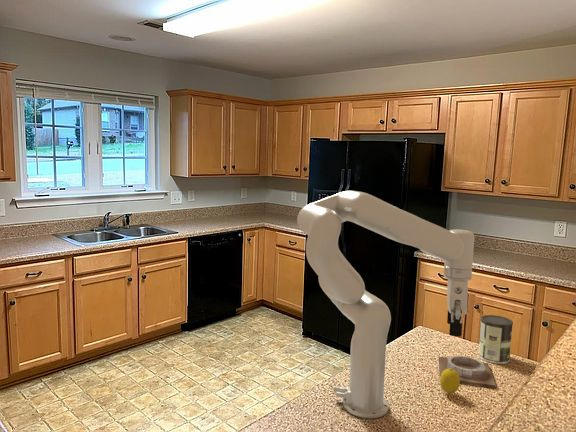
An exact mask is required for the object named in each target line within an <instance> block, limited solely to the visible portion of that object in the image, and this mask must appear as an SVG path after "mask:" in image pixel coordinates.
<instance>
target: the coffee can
mask: <svg viewBox="0 0 576 432" xmlns="http://www.w3.org/2000/svg"><path fill="white" fill-rule="evenodd" d="M513 325H514V321H513V320H511V319H510V318H507V317H505V316H500V315H494V314H486V315H482V316H481V317H480V331H479V332H480V333H479V345H478V357H479V358H480V359H481V360H483V361H484V362H487V363H490V364H496V365H505V364H506V365H507V364H509V362H510V361H511V346H512V345H511V344H512V333H513Z"/></svg>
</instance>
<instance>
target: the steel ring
mask: <svg viewBox="0 0 576 432" xmlns="http://www.w3.org/2000/svg"><path fill="white" fill-rule="evenodd" d="M447 358H448V364H447V367H448V369H449V368H452V369H453V370H455V371H456V372H457V373H458V375H459V376H461V377H466V378H480V377H482V376H483V375H484V369H485V367H484V364H483V363H484V362H482V361H481V360H480V359H477V358H474V357H472V356H466V355H460V354H459V355H451V356H450V357H447ZM454 364H466V365H470V366H473V367H475V368H477V369H465V368H461V367H458V366H456V365H454Z"/></svg>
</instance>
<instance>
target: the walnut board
mask: <svg viewBox="0 0 576 432" xmlns="http://www.w3.org/2000/svg"><path fill="white" fill-rule="evenodd" d="M448 358H449V357H443V356H438V358H437V359H438V366H439V368H438V369H439V376H440V377H441V374H442V372H443V371H444V370H446V369H448V367H447V364H448ZM482 363H483V364H484V367H485V369H484V375H483V376H482V377H480V378H466V377H461V376H459V378H460V384H461V385H462V384H463V385H469V386H476V387H483V388H489V389H495V390H496V387H497V386H496V382H495V379H494V377H493V373H492V370H491V368H490V365H489V362H487V363H486V362H482ZM454 365H456V366H458V367H461V368H465V369H477V368H475V367H473V366H470V365H466V364H454Z"/></svg>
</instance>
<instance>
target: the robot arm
mask: <svg viewBox="0 0 576 432" xmlns="http://www.w3.org/2000/svg"><path fill="white" fill-rule="evenodd" d="M296 219H297V220H296V221H297V227H298V228H299V229H300V231H301V232H302V233H303V234H305V235H307V238H306V242H305V243H306V245H305V253H306V259H307V262H308V264H309V265H310V267H311V268H312V269H313V271H314V272H315V274H316V275H317V276H318V283H319V286H320V288H321V289H322V291H323V292H324V294H325V295H326V296H327V297H328V298H329V299H330V301H331V302H332V303H333V304H334V305H335V306H336V308H337V309H338V310H339V311H340V312H341V313H342V315H343V316H345V317H346V318H347V319H348V320H350V321H351V322H352V323H353V324H354V331H353V334H352V338H351V341H350V359H349V361H350V363H349V380H348V381H349V384H348V386H347V385H346V386H344V387H343V386H340V385H333V393H335V395H336V397H337V398H342V406H343V407H344V408H343V409H345V410H346V411H347V412H348V413H349V414H351V415H353V416H356V417H358V418H361V419H362V418H363V419H377V418H381V417H384V416H385V415H386V414H387V413H388V412H389V402H388V400H386V399H385V396H384V395H385V393H384V392H385V376H386V375H385V373H386V372H385V370H386V354H387V353H386V349H387V340H388V333H389V330H390V326H391V321H392V315H391V311H390V309H389V306H388V305H387V304H386V303H385V302H384V301H383V300H382V299H380V298H379V297H377V296H376V295H375V294H372V293H370V292H369V291H367V290H366V285H365V281H364V279H363V278H362V277H361V275H360V273H359V272H357V270H356V269H355V268H354V267H353V266H352V264H351V263H350V262H349V261H348V260H347V258H346V257H345V256H344V254H343V253H342V252H341V250H340V248H339V237H340V235H341V231H342V223H344V222H351V223H352V224H353V223H354V224H356V225H358V226H360V227H362V228H364V229H367V230H370V231H372V232H374V233H376V234H379V235H381V236H383V237H385V238H387V239H389V240H392V241H394V242H397V243H400V244H404V245H407V246H411V247H414V248H416V249H419V250H420V252H422V253H424V254H425V255H428V256H431V257H435V258H437V259H440V260H443V261H444V264H443V265H444V266H443V277H444V278H445V279H447V286H446V304H447V321H446V322H447V324H448V325H449V331H448V332H449V336H451V337H459V338H461V337H462V334H463V333H462V332H463V315H464V316H466V315H468V299H469V298H468V297H469V296H468V294H469V290H468V289H469V282H468V281H471V280H472V279H473V278H472V276H473V275H472V274H473V262H474V249H475V233H474V232H472V231H471V230H466V229H461V228H460V229H459V228H458V229H457V228H456V229H449V230H448V229H446V228H444V227H442V226H440V225H437V224H435V223H433V222H430V221H428V220H425V219H423V218H421V217H419V216H417V215H415V214H413V213H411V212H408V211H406V210H403V209H400V208H399V207H397V206H394V205H393V204H390V203H388V202H387V201H384V200H382V199H380V198H378V197H377V196H374V195H372V194H369V193H367V192H363V191H358V190H351V189H350V190H345V191H341V192H338V193H336V194H333V195H330V196H327V197H325V198H322V199H319V200H317V201H314V202H310V203H309V204H306V205H305V206H303V207H302V208H301V209H300V211H299V212H298V214H297V218H296Z"/></svg>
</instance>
